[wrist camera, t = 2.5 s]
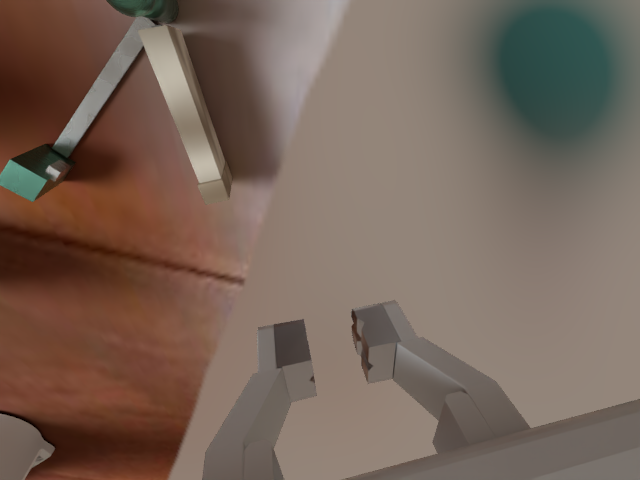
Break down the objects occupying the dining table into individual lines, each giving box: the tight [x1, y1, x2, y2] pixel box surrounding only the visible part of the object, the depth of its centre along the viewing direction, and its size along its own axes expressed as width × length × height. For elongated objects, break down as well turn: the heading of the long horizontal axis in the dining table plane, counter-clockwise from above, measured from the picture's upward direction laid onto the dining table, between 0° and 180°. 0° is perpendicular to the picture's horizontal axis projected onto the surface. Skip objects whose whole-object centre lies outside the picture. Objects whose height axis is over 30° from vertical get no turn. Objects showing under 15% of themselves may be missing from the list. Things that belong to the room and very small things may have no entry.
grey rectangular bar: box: [138, 25, 232, 205], centre depth 24 cm, size 12×2×5 cm, turn 9°
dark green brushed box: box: [0, 144, 76, 202], centre depth 24 cm, size 3×3×4 cm
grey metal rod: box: [52, 16, 156, 158], centre depth 24 cm, size 14×1×1 cm, turn 134°
